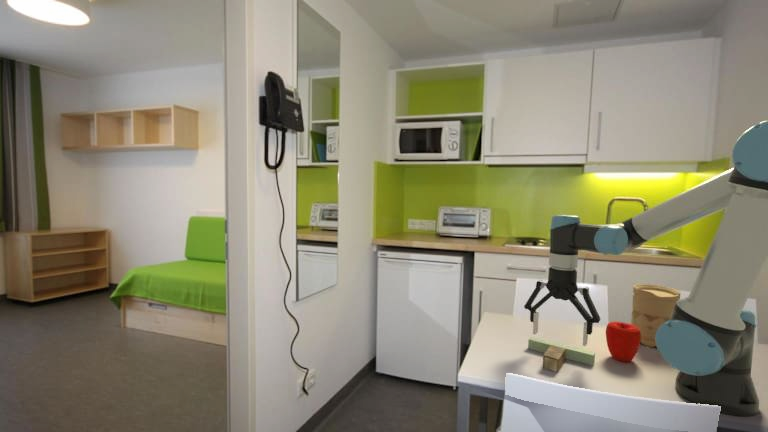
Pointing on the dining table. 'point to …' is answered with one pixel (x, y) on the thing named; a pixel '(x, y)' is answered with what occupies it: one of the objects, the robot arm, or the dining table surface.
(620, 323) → the apple
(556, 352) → the walnut block
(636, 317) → the container
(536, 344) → the rail
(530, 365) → the dining table surface
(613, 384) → the dining table surface
